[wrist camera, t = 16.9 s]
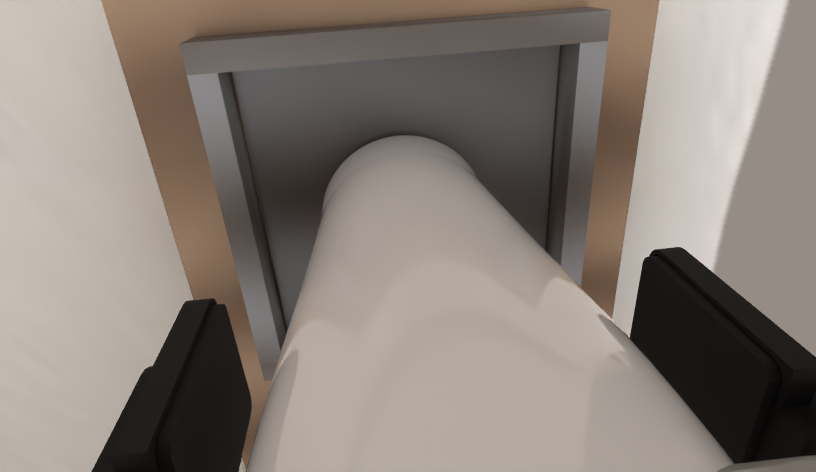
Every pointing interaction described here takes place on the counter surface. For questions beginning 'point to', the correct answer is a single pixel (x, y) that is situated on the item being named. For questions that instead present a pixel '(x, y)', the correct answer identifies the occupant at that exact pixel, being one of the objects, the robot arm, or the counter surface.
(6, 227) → the counter surface
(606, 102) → the brown flat wooden board
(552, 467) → the drinking glass
